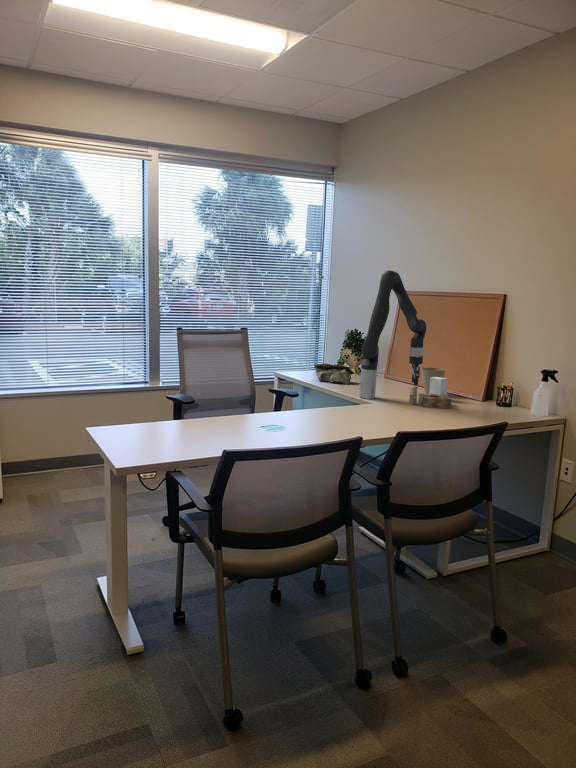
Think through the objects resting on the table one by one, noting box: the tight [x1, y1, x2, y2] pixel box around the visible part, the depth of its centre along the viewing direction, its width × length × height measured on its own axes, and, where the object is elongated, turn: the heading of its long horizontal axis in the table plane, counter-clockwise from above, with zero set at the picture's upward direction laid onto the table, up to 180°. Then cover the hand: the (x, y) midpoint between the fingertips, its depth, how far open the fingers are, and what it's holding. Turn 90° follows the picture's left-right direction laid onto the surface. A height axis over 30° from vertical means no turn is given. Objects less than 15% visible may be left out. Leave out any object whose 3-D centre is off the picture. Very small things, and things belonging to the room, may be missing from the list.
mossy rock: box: [313, 363, 355, 385], centre depth 392 cm, size 28×13×15 cm
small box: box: [429, 377, 448, 396], centre depth 344 cm, size 8×6×13 cm
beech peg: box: [408, 385, 418, 406], centre depth 327 cm, size 4×4×10 cm
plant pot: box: [420, 366, 446, 394], centre depth 360 cm, size 15×15×16 cm
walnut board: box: [417, 393, 452, 409], centre depth 327 cm, size 16×14×5 cm
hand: (414, 383), depth 326 cm, fingers open, 8 cm apart
